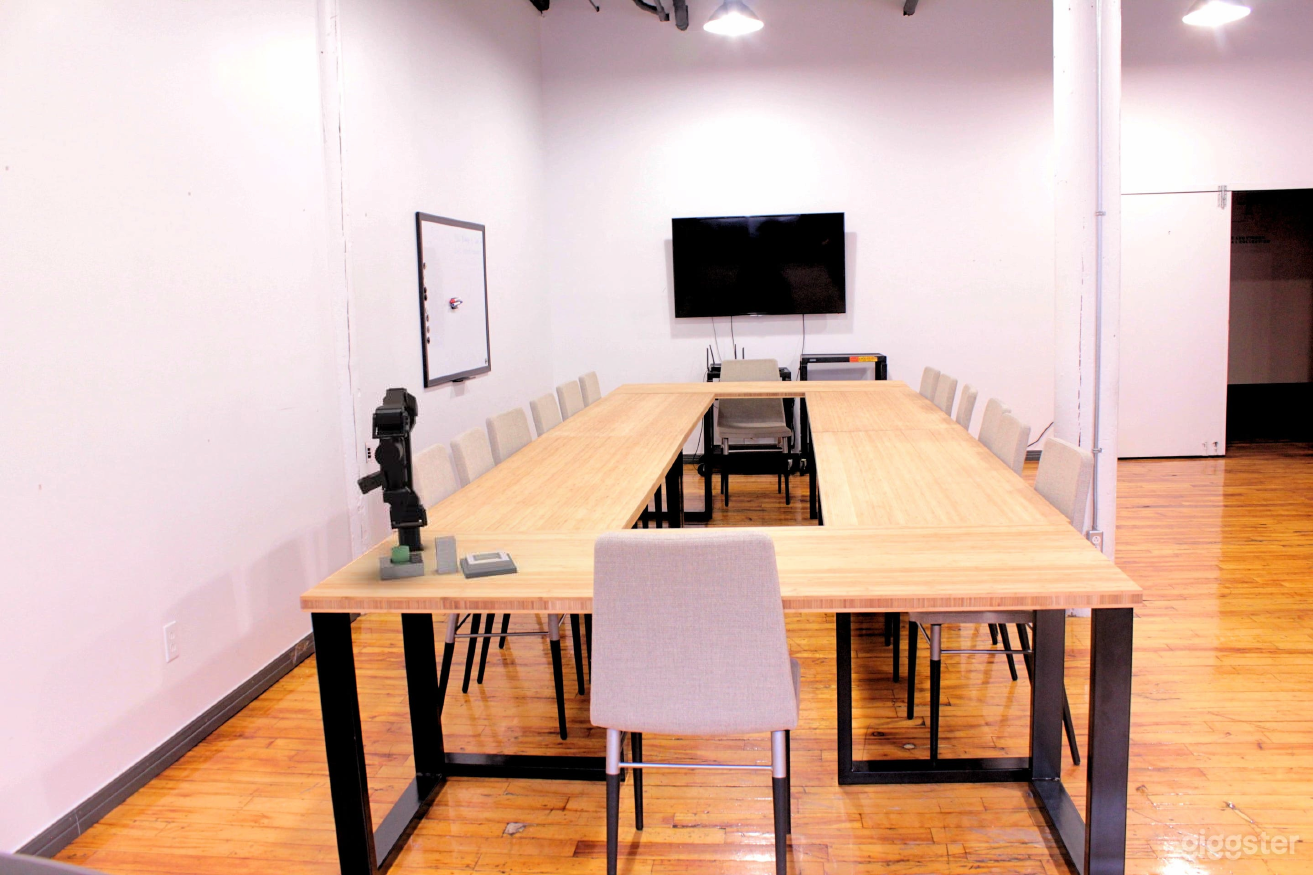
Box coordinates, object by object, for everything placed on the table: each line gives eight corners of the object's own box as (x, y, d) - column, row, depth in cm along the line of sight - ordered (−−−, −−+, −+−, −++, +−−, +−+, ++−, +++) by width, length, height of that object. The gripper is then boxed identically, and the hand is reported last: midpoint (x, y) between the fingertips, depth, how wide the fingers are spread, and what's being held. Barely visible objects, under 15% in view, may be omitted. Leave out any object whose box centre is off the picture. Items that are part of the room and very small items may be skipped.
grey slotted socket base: (460, 563, 244) (459, 552, 244) (508, 557, 247) (507, 547, 247) (465, 578, 231) (464, 567, 230) (517, 572, 234) (516, 561, 234)
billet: (437, 569, 239) (434, 537, 238) (456, 567, 241) (453, 535, 239) (438, 574, 235) (436, 541, 234) (457, 572, 236) (455, 539, 235)
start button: (392, 562, 239) (391, 546, 239) (409, 560, 240) (408, 544, 240) (393, 567, 235) (391, 550, 235) (410, 565, 237) (409, 548, 236)
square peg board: (380, 569, 242) (379, 557, 241) (421, 564, 244) (421, 552, 244) (380, 579, 232) (379, 567, 232) (424, 575, 235) (423, 562, 234)
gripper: (357, 456, 241) (363, 519, 243) (357, 469, 223) (363, 536, 225) (404, 453, 244) (409, 514, 246) (408, 465, 226) (413, 531, 228)
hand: (398, 524), depth 236 cm, fingers closed
